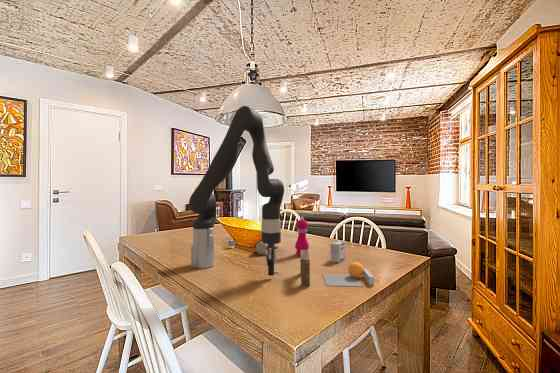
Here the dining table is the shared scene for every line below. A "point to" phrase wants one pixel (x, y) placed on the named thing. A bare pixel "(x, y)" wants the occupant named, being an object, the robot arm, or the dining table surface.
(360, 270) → the ball
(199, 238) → the robot arm
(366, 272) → the stopper wall
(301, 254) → the bridge
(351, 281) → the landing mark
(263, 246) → the ceramic sculpture
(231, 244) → the coffee cup
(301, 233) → the magenta tall lumpy piece
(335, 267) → the dining table surface
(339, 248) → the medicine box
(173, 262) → the dining table surface
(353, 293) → the dining table surface
